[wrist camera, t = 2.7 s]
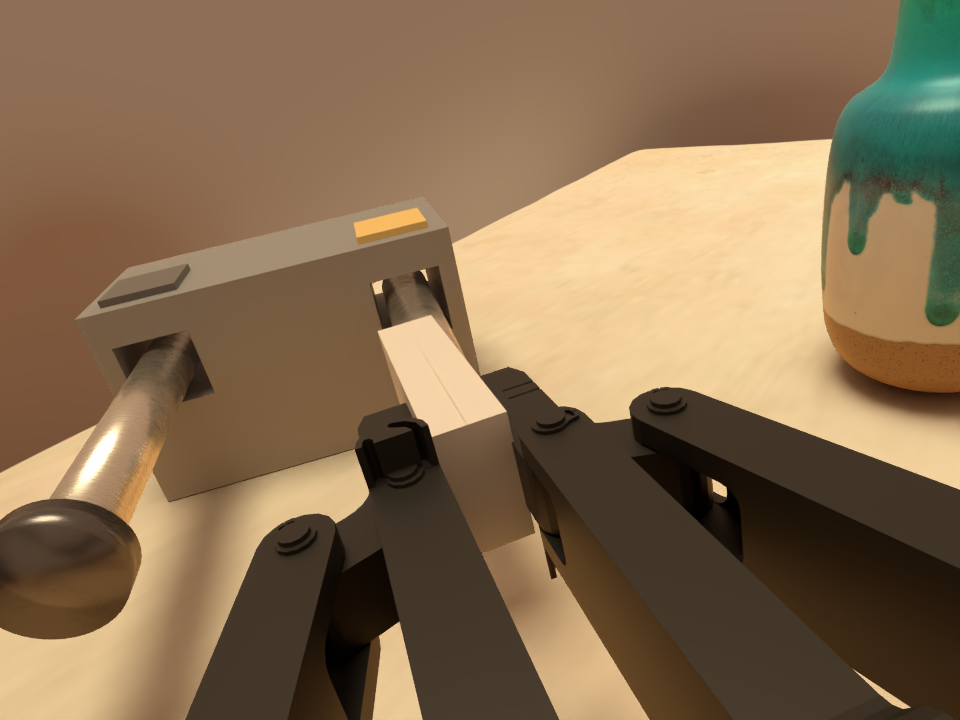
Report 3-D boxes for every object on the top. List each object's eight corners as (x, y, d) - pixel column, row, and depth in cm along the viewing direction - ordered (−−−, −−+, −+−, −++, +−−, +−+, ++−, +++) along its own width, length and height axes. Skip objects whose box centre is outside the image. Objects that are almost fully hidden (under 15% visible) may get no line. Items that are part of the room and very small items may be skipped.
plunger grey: (12, 656, 21) (-67, 552, 19) (156, 387, 39) (124, 319, 37) (154, 613, 22) (91, 507, 20) (231, 367, 40) (203, 299, 38)
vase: (783, 392, 36) (792, 14, 28) (856, 319, 42) (882, -12, 33) (1022, 451, 28) (1135, -46, 20) (1071, 351, 34) (1174, -66, 26)
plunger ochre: (422, 531, 23) (390, 423, 21) (378, 328, 41) (358, 260, 39) (544, 493, 23) (524, 385, 21) (447, 310, 41) (431, 242, 39)
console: (168, 501, 38) (70, 312, 33) (197, 421, 47) (125, 262, 42) (487, 410, 40) (446, 219, 35) (458, 349, 49) (421, 190, 44)
